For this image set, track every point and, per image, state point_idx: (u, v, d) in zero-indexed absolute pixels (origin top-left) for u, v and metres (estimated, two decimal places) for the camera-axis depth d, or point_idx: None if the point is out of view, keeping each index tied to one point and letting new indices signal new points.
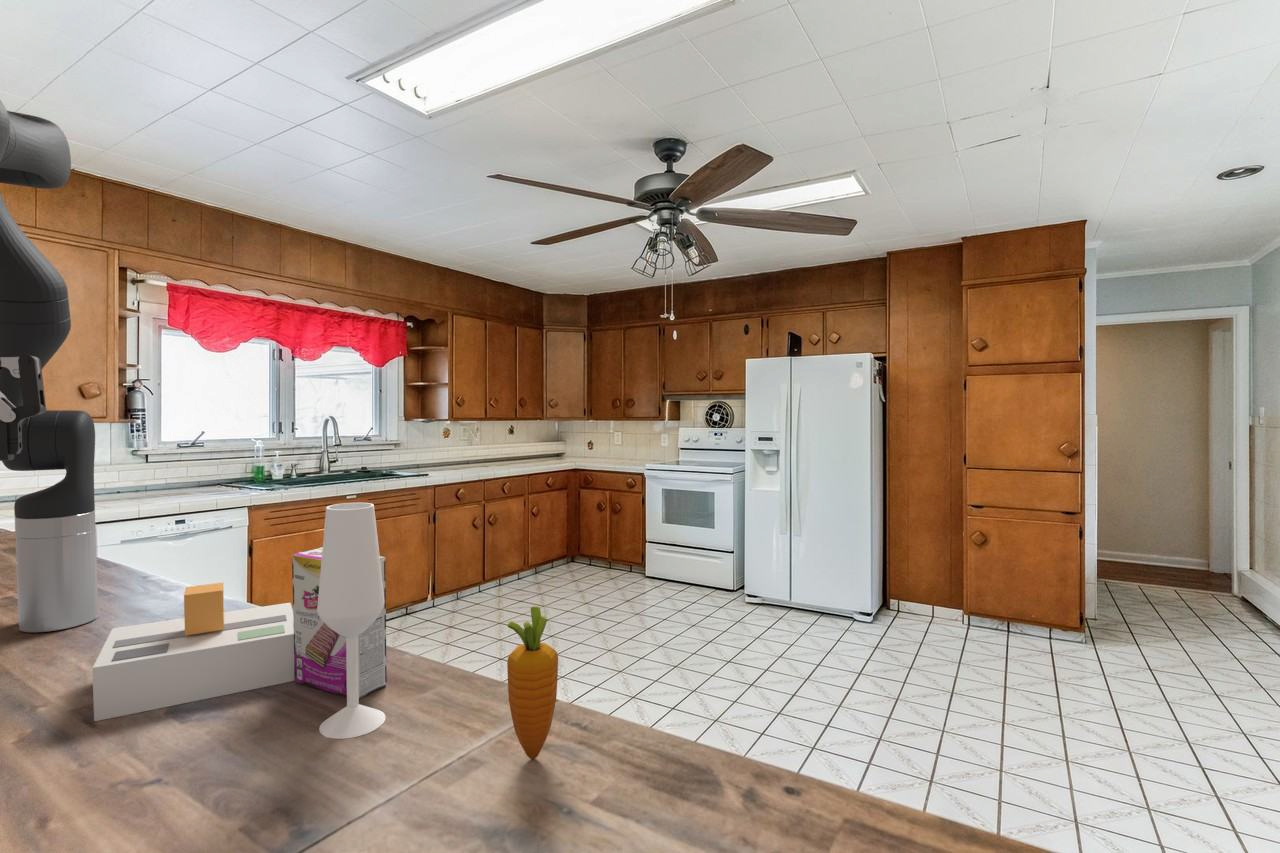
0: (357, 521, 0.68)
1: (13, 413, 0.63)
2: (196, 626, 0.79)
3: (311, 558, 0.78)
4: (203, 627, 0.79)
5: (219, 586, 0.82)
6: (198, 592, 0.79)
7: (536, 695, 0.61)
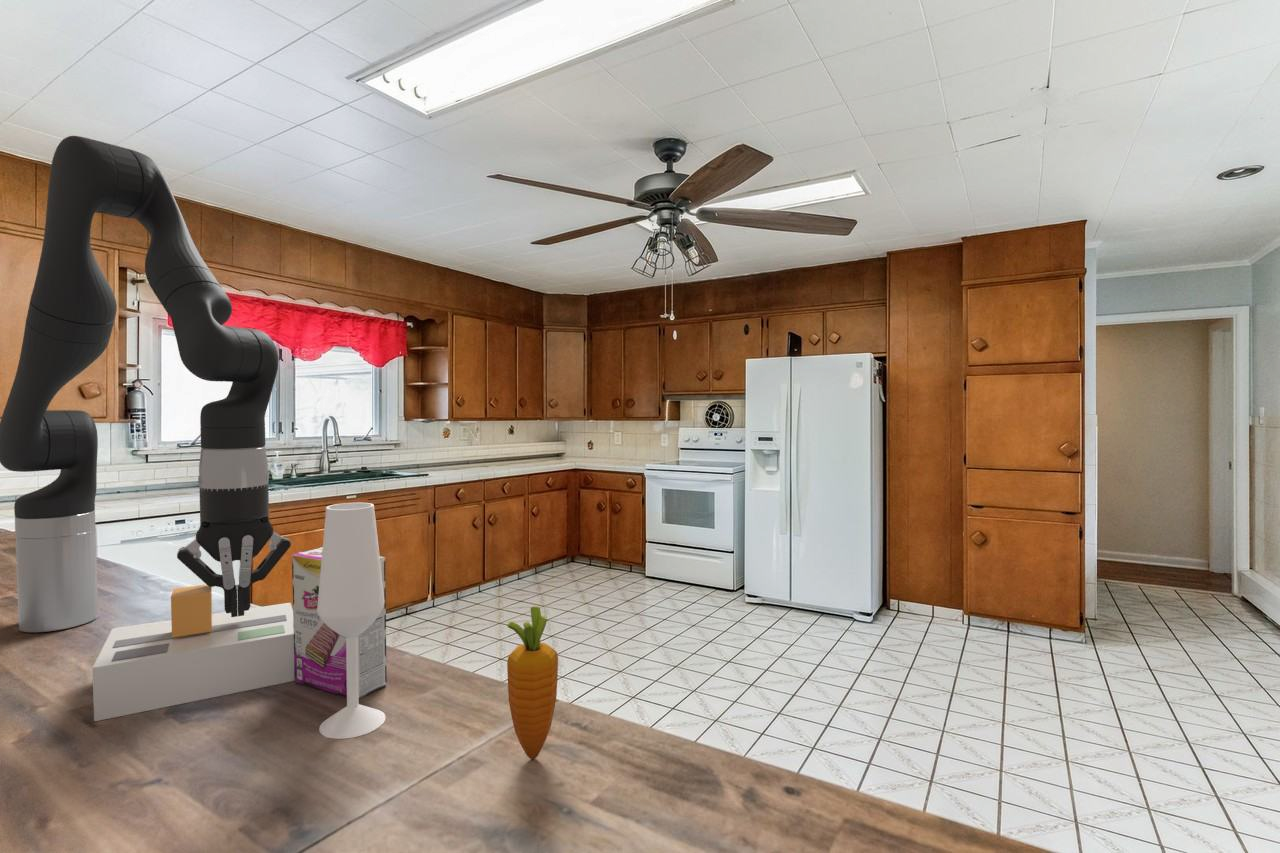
0: (357, 521, 0.68)
1: (249, 583, 0.83)
2: (184, 628, 0.78)
3: (311, 558, 0.78)
4: (190, 629, 0.79)
5: (207, 588, 0.81)
6: (185, 594, 0.79)
7: (536, 695, 0.61)
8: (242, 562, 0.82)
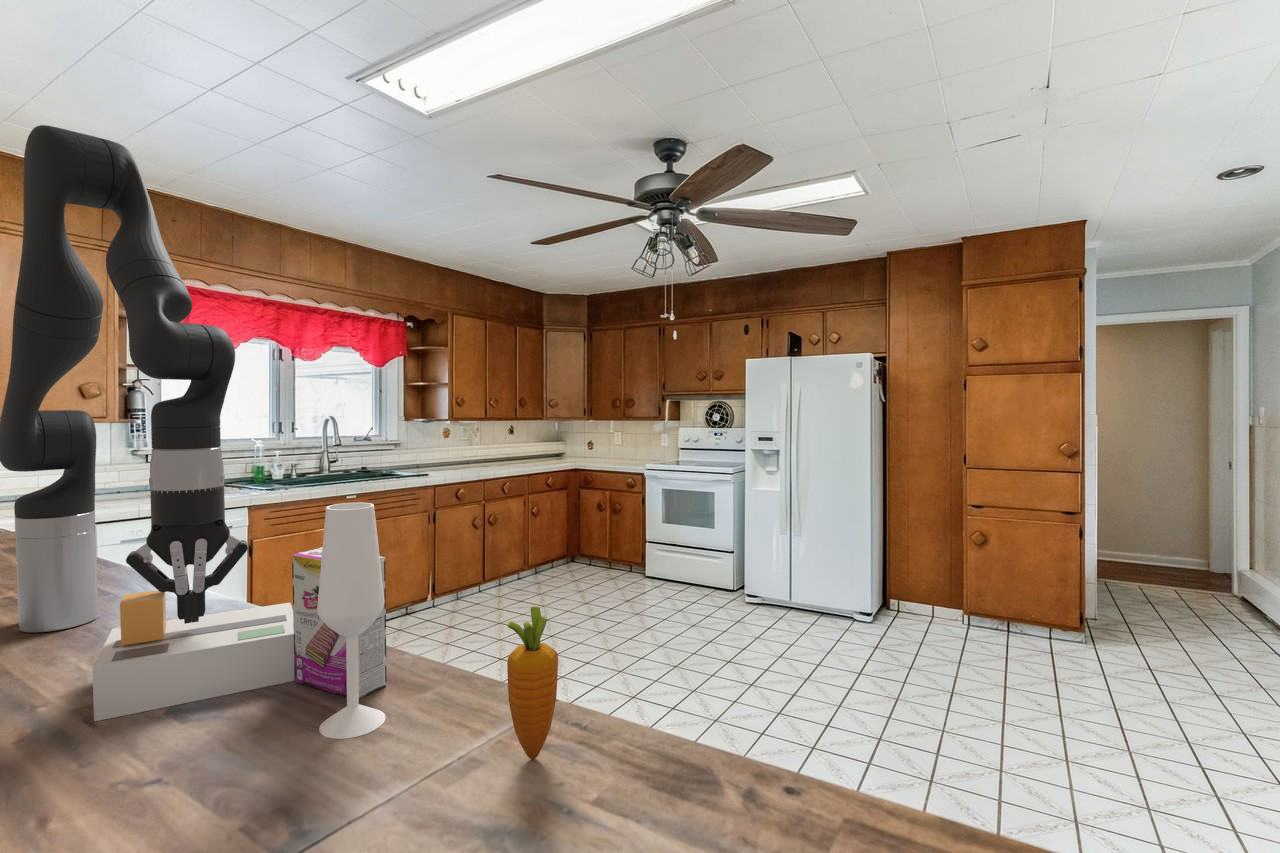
0: (357, 521, 0.68)
1: (203, 588, 0.80)
2: (134, 636, 0.76)
3: (311, 558, 0.78)
4: (141, 637, 0.76)
5: (160, 593, 0.79)
6: (136, 600, 0.76)
7: (536, 695, 0.61)
8: (195, 566, 0.79)
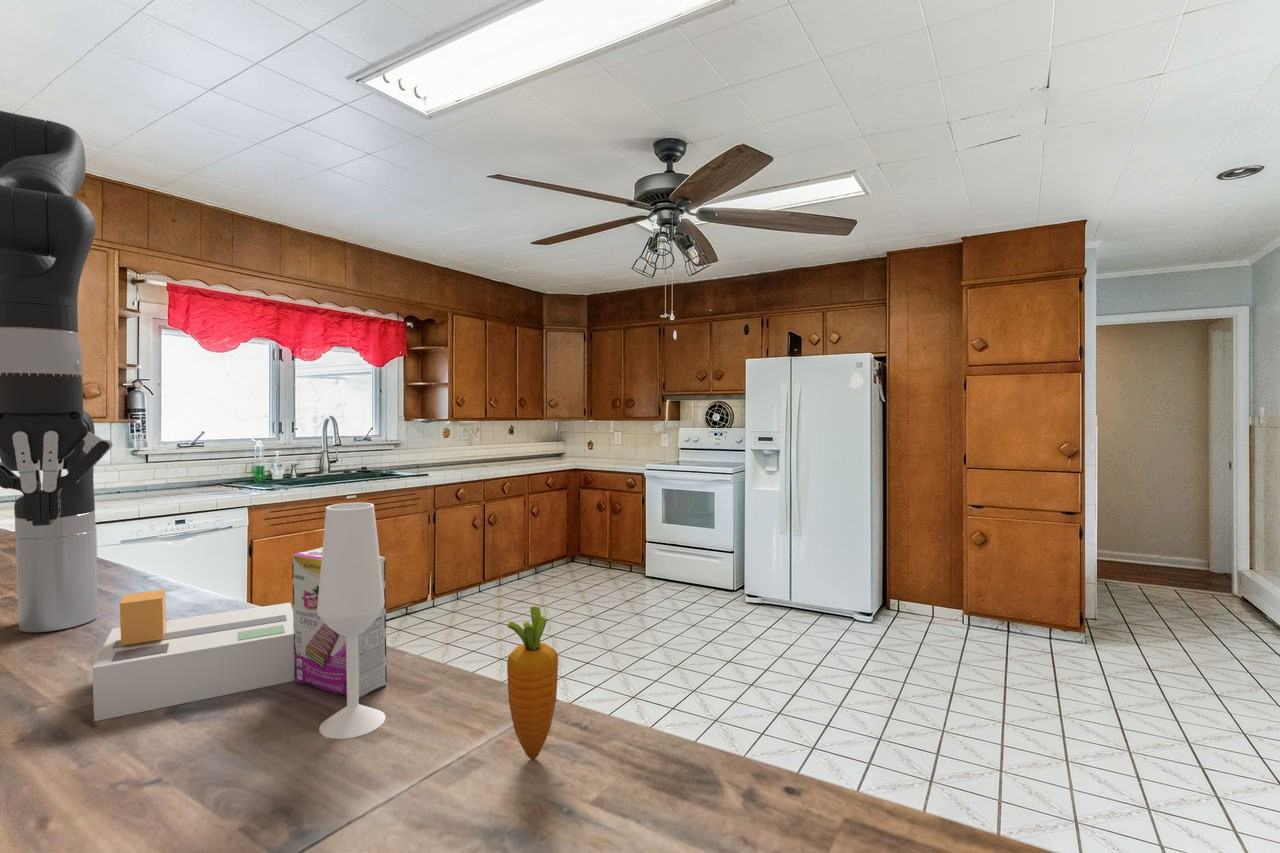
0: (357, 521, 0.68)
1: (55, 487, 0.72)
2: (133, 636, 0.76)
3: (311, 558, 0.78)
4: (141, 637, 0.76)
5: (160, 593, 0.79)
6: (135, 600, 0.76)
7: (536, 695, 0.61)
8: (45, 462, 0.71)
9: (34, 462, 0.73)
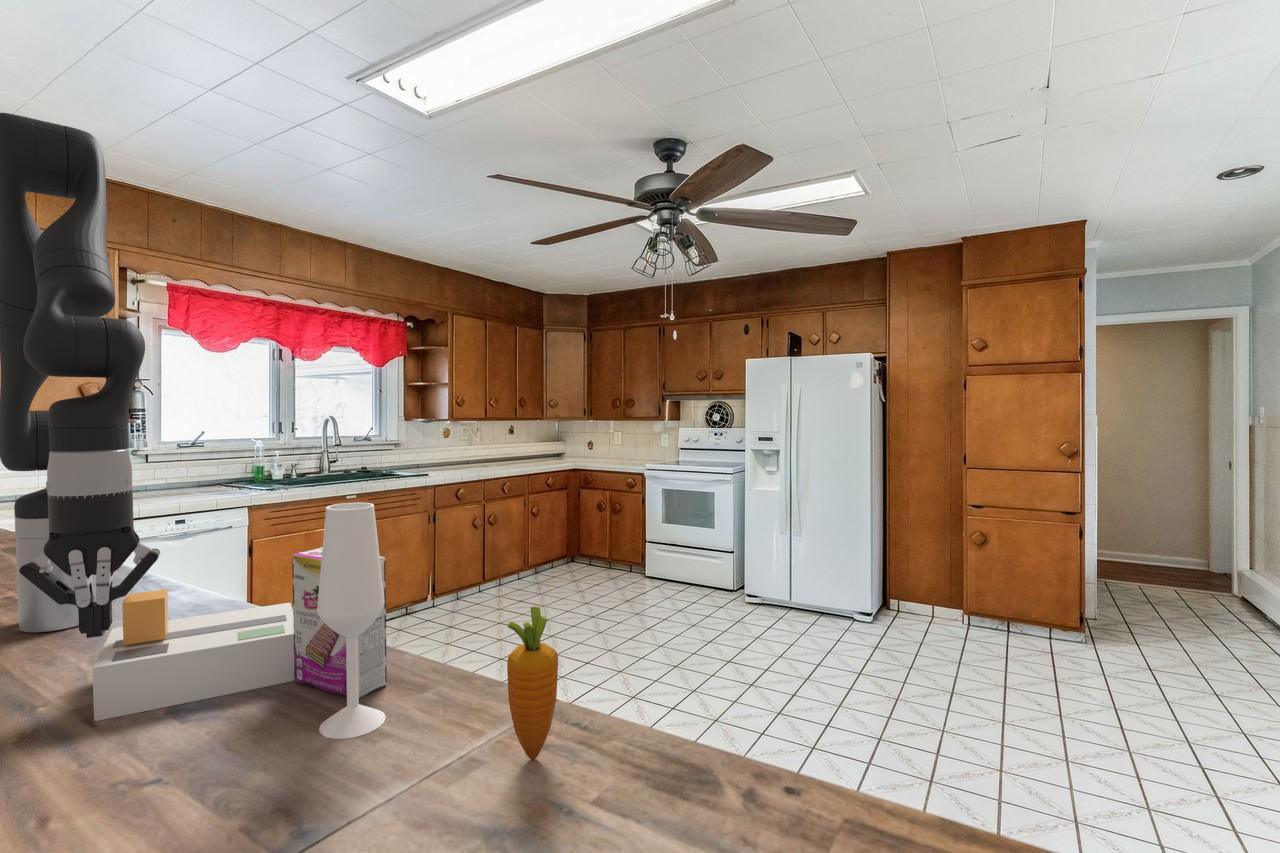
0: (357, 521, 0.68)
1: (107, 600, 0.75)
2: (136, 636, 0.76)
3: (311, 558, 0.78)
4: (143, 636, 0.76)
5: (162, 593, 0.79)
6: (138, 600, 0.76)
7: (536, 695, 0.61)
8: (98, 577, 0.74)
9: None
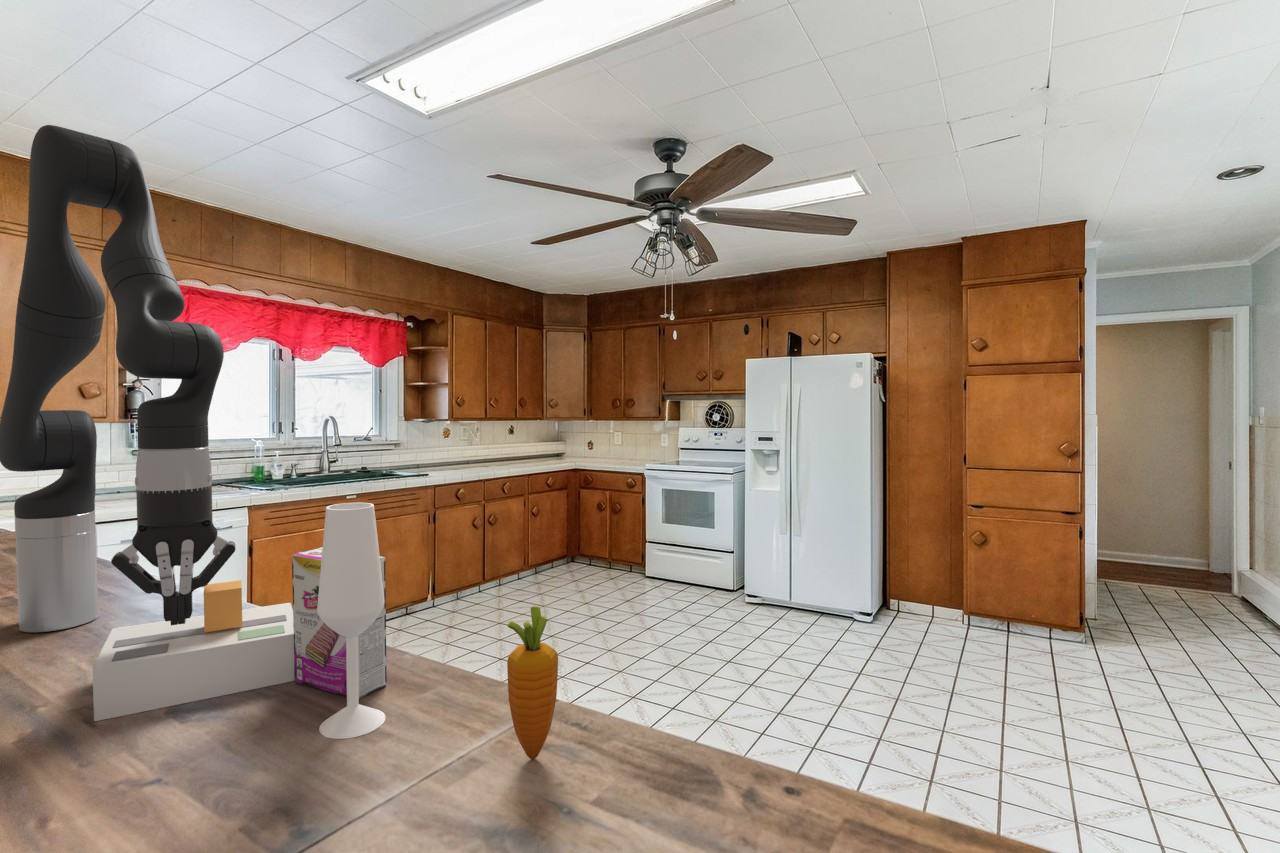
0: (357, 521, 0.68)
1: (189, 589, 0.79)
2: (216, 624, 0.80)
3: (311, 558, 0.78)
4: (222, 624, 0.81)
5: (238, 584, 0.83)
6: (217, 590, 0.80)
7: (536, 695, 0.61)
8: (182, 568, 0.78)
9: None
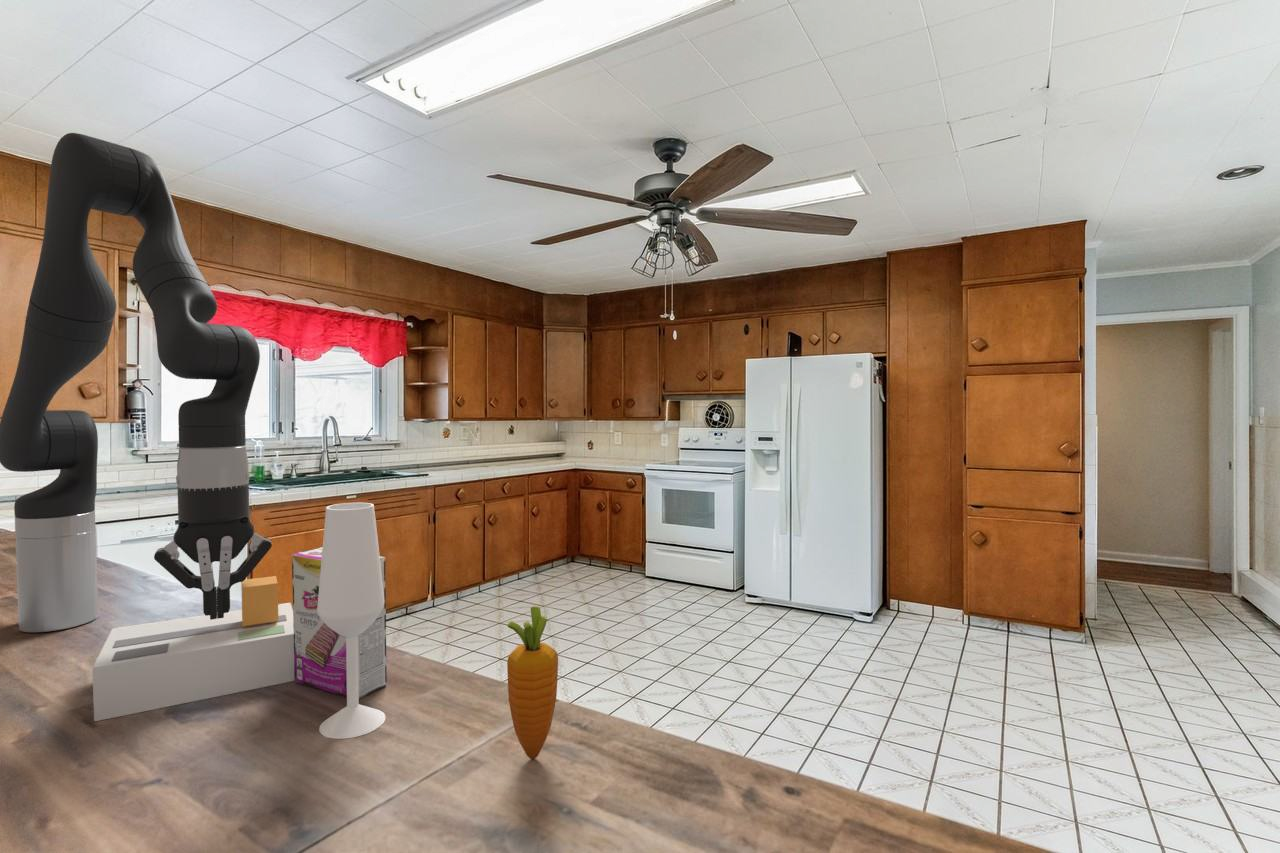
0: (357, 521, 0.68)
1: (228, 584, 0.81)
2: (253, 618, 0.82)
3: (311, 558, 0.78)
4: (259, 618, 0.83)
5: (273, 579, 0.85)
6: (254, 585, 0.83)
7: (536, 695, 0.61)
8: (221, 563, 0.80)
9: None
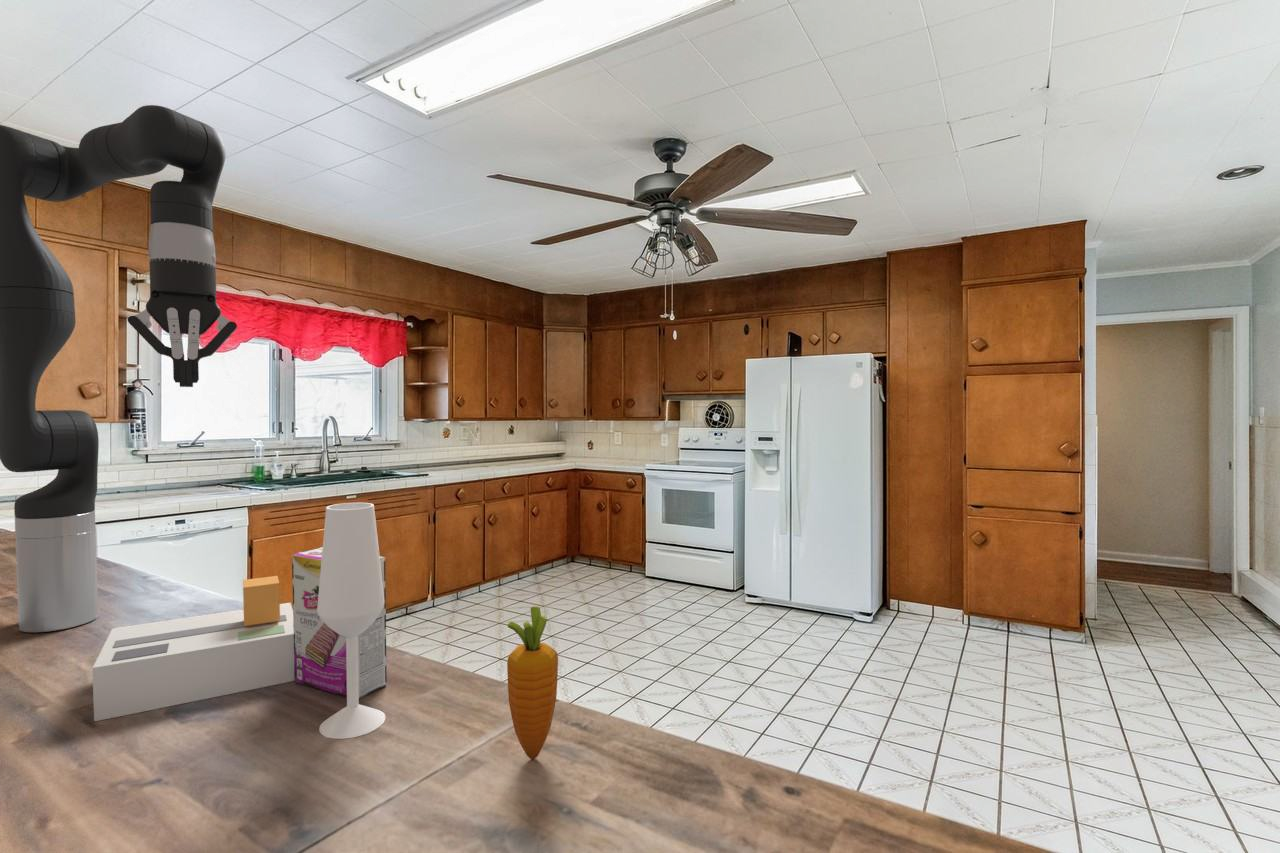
0: (357, 521, 0.68)
1: (196, 356, 0.89)
2: (255, 618, 0.82)
3: (311, 558, 0.78)
4: (261, 618, 0.83)
5: (275, 579, 0.85)
6: (256, 585, 0.83)
7: (536, 695, 0.61)
8: (190, 334, 0.88)
9: None
